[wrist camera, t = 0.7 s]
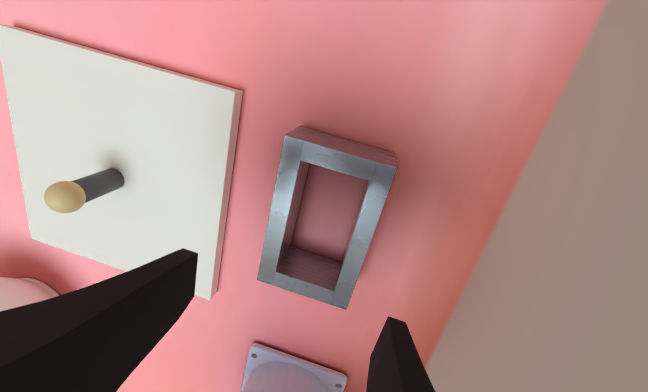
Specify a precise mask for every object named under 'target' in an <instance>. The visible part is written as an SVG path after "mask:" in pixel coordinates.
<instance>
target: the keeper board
mask: <svg viewBox="0 0 648 392" xmlns="http://www.w3.org/2000/svg"><path fill="white" fill-rule="evenodd" d="M0 58H1V64H2V70H3V75H4V81H5V87H6V93H7V99H8V105H9V111H10V117H11V123H12V129H13V135H14V141H15V146H16V152H17V158H18V164H19V170H20V176H21V182H22V188H23V194H24V200H25V206H26V212H27V217H28V223H29V229H30V235H31V239H34V240H37V241H40V242H42V243H45V244H48V245H51V246H54V247H57V248H60V249H63V250H66V251H68V252H71V253H74V254H77V255H80V256H83V257H86V258H89V259H92V260H94V261H97V262H100V263H103V264H106V265H109V266H112V267H115V268H118V269H120V270H123V271H126V272H128V271H130V270H132V269H135V268H137V267H140V266H142V265H144V264H147V263H149V262H151V261H154V260H156V259H158V258H161V257H163V256H165V255H168V254H170V253H172V252H175V251H177V250H180V249H182V248H184V249H187V250H190V251H193V252H196V253H198V261H197V272H196V283H195V294H194V295H196V296H199V297H201V298H204V299H207V300H211V299H212V297H213V296H214V295H215V293H216V292H217V287H218V279H219V272H220V264H221V256H222V249H223V241H224V233H225V225H226V218H227V210H228V202H229V195H230V187H231V179H232V172H233V164H234V156H235V148H236V141H237V133H238V125H239V118H240V110H241V102H242V94H243V91H241V90H237V89H234V88H230V87H227V86H223V85H220V84H216V83H213V82H209V81H206V80H202V79H199V78H195V77H192V76H188V75H184V74H181V73H177V72H174V71H170V70H167V69H163V68H160V67H156V66H153V65H149V64H146V63H142V62H139V61H135V60H132V59H128V58H124V57H121V56H117V55H114V54H110V53H107V52H103V51H100V50H96V49H93V48H89V47H86V46H82V45H79V44H75V43H71V42H68V41H64V40H61V39H57V38H54V37H50V36H47V35H43V34H40V33H36V32H33V31H29V30H26V29H22V28H19V27H15V26H9V25H1V24H0Z"/></svg>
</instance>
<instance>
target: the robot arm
mask: <svg viewBox="0 0 648 392" xmlns="http://www.w3.org/2000/svg"><path fill="white" fill-rule="evenodd" d="M197 261H198V253H196V252H193V251H190V250H187V249H184V248H182V249H180V250H177V251H175V252H172V253H170V254H168V255H165V256H163V257H161V258H158V259H156V260H154V261H151V262H149V263H147V264H144V265H142V266H140V267H137V268H135V269H132V270H130V271H128V272H125V273H123V274H120V275H117V276H115V277H112V278H109V279H107V280H104V281H101V282H99V283H96V284H93V285H91V286H88V287H85V288H82V289H79V290H76V291H73V292H70V293H67V294H63V295H60V296H57V297H54V298H50V299H47V300H43V301H40V302H36V303H32V304H28V305H24V306H20V307H16V308H12V309H8V310H4V311H0V392H116V391H117V390H118V388H119V387H120V386H121V385H122V384H123V382H124V381H125V380H126V379H127V377H128V376H129V375H130V374H131V373H132V372H133V370H134V369H135V368H136V367H137V366H138V365H139V364H140V362H141V361H142V360H143V359H144V358H145V357H146V356H147V355H148V353H149V352H150V351H151V350H152V349H153V348H154V347H155V345H156V344H157V343H158V342H159V341H160V340H161V339H162V337H163V336H164V335H165V334H166V333H167V332H168V331H169V329H170V328H171V327H172V326H173V325H174V324H175V322H176V321H177V320H178V319H179V317H180V316H181V315H182V313H183V312H184V310H185V309H186V307H187V306H188V304H189V303H190V301H191V300H192V298H193V297H194V294H195V283H196V272H197ZM346 383H347V376H346V375H345V374H343V373H340V372H337V371H334V370H332V369H329V368H326V367H323V366H320V365H317V364H315V363H312V362H309V361H306V360H303V359H300V358H298V357H295V356H292V355H289V354H286V353H283V352H281V351H278V350H275V349H272V348H269V347H266V346H264V345H261V344H258V343H253V344H252V345H251V347H250V349H249V353H248V358H247V363H246V368H245V373H244V378H243V382H242V387H241V392H343V391H344V388H345V386H346ZM367 392H435V390H434V388H433V386H432V384H431V382H430V379H429V377H428V375H427V373H426V371H425V368H424V366H423V364H422V362H421V359H420V357H419V354H418V352H417V350H416V347H415V345H414V342H413V340H412V337H411V335H410V332H409V329H408V327H407V325H406V323H405V322H403V321H400V320H397V319H394V318H391V317H388V318H387V320H386V323H385V325H384V327H383V329H382V332H381V334H380V336H379V338H378V341H377V343H376V345H375V348H374V350H373V352H372V354H371V357H370V365H369V372H368V380H367Z"/></svg>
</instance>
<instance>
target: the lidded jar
mask: <svg viewBox="0 0 648 392" xmlns="http://www.w3.org/2000/svg"><path fill="white" fill-rule="evenodd" d="M57 296H60V295H59V294H58V293H57V292H56V291H55V290H54V289H53V288H51V287H50V286H49V285H47V284H45V283H44V282H42V281H40V280H37V279H34V278H28V277H24V278H20V279H18V278H10V277H0V311H4V310H8V309H12V308H16V307H20V306H24V305H28V304H32V303H36V302H40V301H43V300H47V299H50V298H54V297H57Z"/></svg>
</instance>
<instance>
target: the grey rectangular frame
mask: <svg viewBox="0 0 648 392" xmlns="http://www.w3.org/2000/svg"><path fill="white" fill-rule="evenodd" d="M310 163H311V164H314V165H317V166H321V167H324V168H327V169H331V170H334V171H337V172H341V173H344V174H348V175H351V176H354V177H358V178H361V179H364V180H368V182H367V185H366V188H365V191H364V194H363V197H362V200H361V203H360V206H359V210H358V213H357V216H356V219H355V222H354V225H353V228H352V231H351V234H350V237H349V240H348V243H347V247H346V250H345V253H344V256H343V259H342V262H339V261H336V260H333V259H330V258H326V257H323V256H320V255H317V254H314V253H311V252H308V251H305V250H302V249H299V248H295V247H292V246H290V245H291V241H292V236H293V232H294V228H295V224H296V219H297V215H298V211H299V207H300V202H301V198H302V194H303V190H304V185H305V181H306V177H307V173H308V168H309V164H310ZM396 170H397V162H396V153H393V152H390V151H386V150H383V149H379V148H376V147H372V146H369V145H365V144H362V143H358V142H355V141H351V140H348V139H345V138H341V137H338V136H334V135H331V134H327V133H324V132H320V131H317V130H313V129H310V128H306V127H303V126H300V127H298V128H296V129H295V130H293V131H291V132H290V133H288V134H286V135H285V137H284V142H283V148H282V153H281V158H280V163H279V168H278V173H277V179H276V184H275V189H274V194H273V199H272V204H271V210H270V215H269V220H268V225H267V230H266V235H265V241H264V246H263V251H262V256H261V261H260V266H259V272H258V277H257V280H259V281H262V282H265V283H268V284H271V285H274V286H277V287H280V288H283V289H286V290H289V291H292V292H295V293H298V294H301V295H304V296H307V297H310V298H313V299H316V300H319V301H322V302H325V303H328V304H331V305H334V306H337V307H340V308H343V309H347V306H348V304H349V301H350V298H351V295H352V292H353V290H354V287H355V284H356V281H357V279H358V276H359V273H360V270H361V267H362V265H363V262H364V259H365V256H366V254H367V251H368V248H369V245H370V242H371V240H372V237H373V234H374V231H375V228H376V226H377V223H378V220H379V217H380V215H381V212H382V209H383V206H384V203H385V201H386V198H387V195H388V192H389V189H390V187H391V184H392V181H393V178H394V176H395V173H396Z"/></svg>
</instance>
